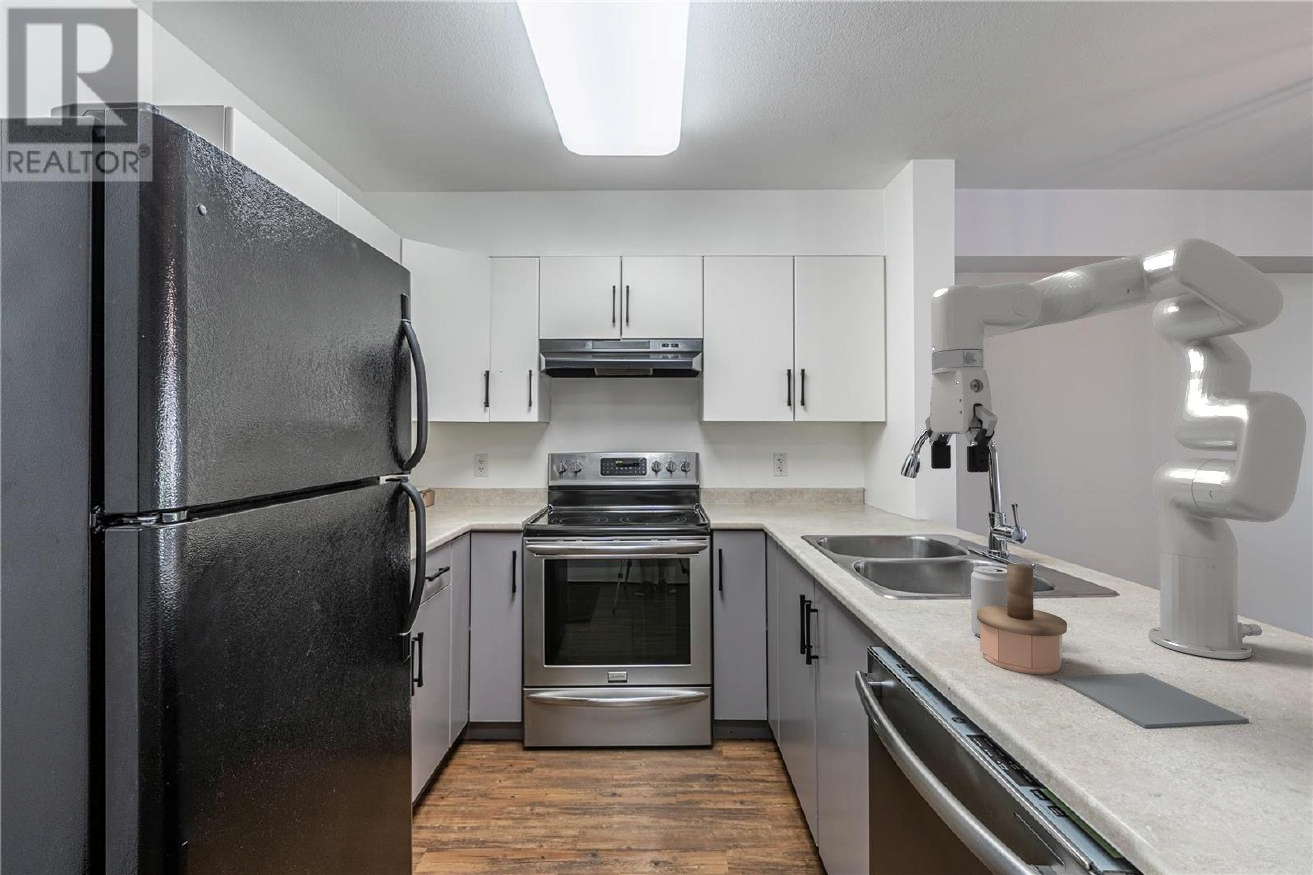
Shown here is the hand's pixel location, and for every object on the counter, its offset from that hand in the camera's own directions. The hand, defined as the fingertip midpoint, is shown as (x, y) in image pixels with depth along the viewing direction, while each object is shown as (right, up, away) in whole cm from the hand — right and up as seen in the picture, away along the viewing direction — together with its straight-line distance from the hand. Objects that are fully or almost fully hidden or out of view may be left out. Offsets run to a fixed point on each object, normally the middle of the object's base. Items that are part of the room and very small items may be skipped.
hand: (958, 470), depth 93 cm
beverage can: (+11, -30, +9) cm, 34 cm away
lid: (+9, -24, -2) cm, 26 cm away
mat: (+17, -30, -15) cm, 38 cm away
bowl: (+9, -30, -2) cm, 31 cm away
